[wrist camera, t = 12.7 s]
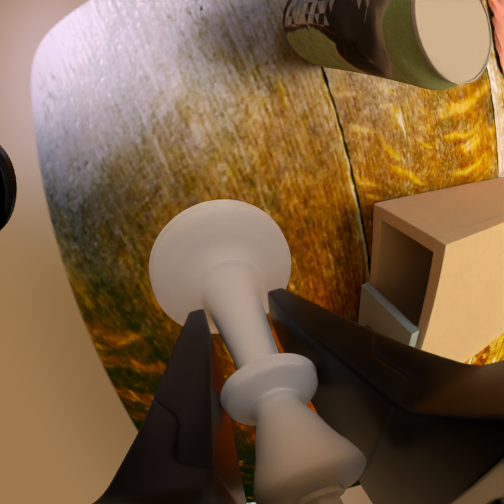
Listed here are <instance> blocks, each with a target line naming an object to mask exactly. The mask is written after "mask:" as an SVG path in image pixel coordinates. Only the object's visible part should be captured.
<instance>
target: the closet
mask: <svg viewBox="0 0 504 504" xmlns="http://www.w3.org/2000/svg"><path fill="white" fill-rule="evenodd" d="M369 283H370V284H371V285H372V286H373V287H374V288H375V289H377V290H378V291H379V292H380V293H381V294H382V295H383V296H384V297H385V298H386V299H387V300H388V301H389V302H390V303H392V304H393V305H394V306H395V307H396V308H397V309H398V310H399V311H400V312H401V313H402V314H403V315H404V316H405V317H406V318H407V319H408V320H409V321H410V322H411V323H412V324H413V325H415V326H416V327H417V328H418V329H419V334H418V337H417V341H416V345H415V348H418V349H420V350H423V351H426V352H430V353H433V354H436V355H439V356H442V357H445V358H448V359H451V360H455V361H458V362H461V363H464V362H466V361H467V360H469V359H470V358H471V357H473V356H474V355H476V354H477V353H478V352H480V351H481V350H482V349H484V348H485V347H486V346H488V345H489V344H490V343H492V342H493V341H494V340H495V339H497V338H498V337H499V336H500V335H502V334H503V333H504V177H500V178H495V179H490V180H485V181H480V182H474V183H469V184H464V185H459V186H454V187H449V188H444V189H440V190H435V191H430V192H425V193H420V194H415V195H411V196H406V197H401V198H396V199H392V200H387V201H382V202H378V203H374V208H373V236H372V254H371V269H370V281H369Z"/></svg>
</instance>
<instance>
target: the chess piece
mask: <svg viewBox="0 0 504 504" xmlns="http://www.w3.org/2000/svg"><path fill="white" fill-rule="evenodd" d="M290 274H291V255H290V250H289V247H288V244H287V241H286V239H285V237H284V236H283V234H282V231H281V230H280V228H279V227H278V225H277V224H276V222H275V221H274V220H273V219H272V218H271V217H270V216H269V215H268V214H267V213H265V212H264V211H262V210H261V209H259V208H257V207H255V206H253V205H251V204H248V203H245V202H242V201H237V200H227V199H223V200H212V201H207V202H203V203H199V204H197V205H194V206H192V207H190V208H188V209H186V210H184V211H182V212H181V213H179V214H178V215H177V216H175V217H174V218H173V219H172V220H171V221H170V222H169V223H168V224H167V225H166V226H165V227H164V228H163V230H162V231H161V232H160V234H159V235H158V237H157V239H156V241H155V243H154V245H153V248H152V251H151V254H150V259H149V276H150V282H151V285H152V289H153V292H154V295H155V298H156V300H157V302H158V304H159V305H160V307H161V308H162V309H163V311H164V312H165V313H166V314H167V315H168V316H169V317H170V318H171V319H172V320H174V321H175V322H177V323H178V324H180V325H182V326H184V324H185V321H186V319H187V317H188V314H189V313H190V312H191V311H195V310H199V309H204V311H205V314H206V317H207V321H208V325H209V328H210V332H211V333H219V334H220V336H221V338H222V340H223V341H224V343H225V345H226V347H227V349H228V351H229V353H230V355H231V357H232V359H233V362H234V364H235V366H236V368H237V371H236V372H235V373H233V374H232V375H231V376H230V377H229V379H228V380H227V381H226V382H225V384H224V386H223V388H222V390H221V393H220V402H221V405H222V407H223V408H224V410H225V411H226V412H227V414H228V415H229V416H230V417H231V418H232V419H233V420H235V421H237V422H239V423H242V424H246V425H256V435H255V449H256V469H255V475H254V498H255V502H256V504H343V502H342V500H341V499H340V496H341V495H342V494H343V493H344V492H345V490H346V489H347V488H349V487H350V486H351V485H352V484H354V483H355V482H356V481H357V480H358V479H359V477H360V476H361V475H362V473H363V471H364V469H365V467H366V463H367V461H366V457H365V455H364V454H363V453H362V452H361V450H360V449H358V448H357V447H356V446H355V445H354V444H353V443H351V442H350V441H349V440H348V439H346V438H345V437H343V436H341V435H340V434H338V433H337V432H336V431H335V430H334V429H332V428H331V427H330V426H329V425H328V424H327V423H326V422H325V421H324V420H323V419H322V418H321V417H320V416H319V415H318V414H317V413H315V412H314V411H313V410H311V409H310V408H309V407H308V406H306V405H307V404H308V403H309V401H310V400H311V399H312V398H313V396H314V394H315V393H316V390H317V387H318V377H317V371H316V367H315V365H314V364H313V363H312V361H310V360H309V359H308V358H306V357H304V356H301V355H298V354H292V353H281V354H279V353H278V350H277V347H276V344H275V341H274V339H273V336H272V332H271V329H270V326H269V323H268V320H267V316H266V314H267V313H269V304H268V292H269V291H271V290H275V289H278V288H283V289H285V290H286V287H287V285H288V282H289V278H290Z"/></svg>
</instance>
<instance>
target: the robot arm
mask: <svg viewBox="0 0 504 504" xmlns="http://www.w3.org/2000/svg"><path fill="white" fill-rule="evenodd" d="M0 218H1V219H2V223H1V222H0V228H2V227H3V226H4V225H6V223H7V217H6V214H5V211H4V208H3V205H2V202H1V195H0ZM268 304H269V312H270V317H271V321H272V323H273V326H274V328H275V331H276V333H277V336H278V338H279V341H280V343H281V346H282V348H283V350H284V353H292V354H298V355H301V356H304V357H306V358H308V359H309V360H310V361H312V363H313V364H314V365H315V367H316V371H317V377H318V387H317V390H316V393H315V394H314V396H313V398H312V399H311V400H310V401H311V403H312V404H313V406H314V408H315V409H316V411H317V413H318V414H319V416H320V417H321V418H322V419H323V420H324V421H325V422H326V423H327V424H328V425H329V426H330V427H331V428H332V429H334V430H335V431H336V432H337V433H338V434H340V435H341V436H343V437H345V438H346V439H348V440H349V441H350V442H351V443H353V444H354V445H355V446H356V447H357V448H358V449H360V450H361V452H362V453H363V454H364V455H365V457H366V461H367V463H366V467H365V469H364V471H363V473H362V475H361V476H360V477H359V479H358V480H359V481H360V484H361V485H362V487H363V489H364V490H365V492H366V493H367V495H368V497H369V499H370V500H371V502H372V503H373V504H504V360H503V361H499V362H495V363H491V364H486V365H470V364H465V363H461V362H458V361H455V360H451V359H448V358H445V357H442V356H439V355H436V354H433V353H430V352H426V351H423V350H420V349H418V348H415V347H412V346H409V345H406V344H404V343H401V342H399V341H397V340H394V339H392V338H389V337H387V336H385V335H383V334H380V333H378V332H376V333H375V331H374V330H371V329H369V328H367V327H365V326H363V325H360V324H358V323H356V322H354V321H352V320H350V319H347V318H345V317H343V316H341V315H339V314H337V313H334V312H332V311H330V310H328V309H326V308H324V307H321V306H319V305H317V304H315V303H313V302H311V301H309V300H306V299H304V298H302V297H300V296H298V295H296V294H294V293H292V292H289V291H287V290H285V289H283V288H278V289H275V290H271V291H269V292H268ZM224 384H225V381H224V377H223V374H222V370H221V367H220V363H219V360H218V356H217V353H216V349H215V346H214V342H213V339H212V335H211V332H210V328H209V325H208V321H207V317H206V314H205V311H204V309H199V310H195V311H191V312H190V313H189V314H188V317H187V319H186V321H185V324H184V326H183V328H182V331H181V333H180V335H179V338H178V340H177V342H176V345H175V347H174V350H173V352H172V354H171V357H170V359H169V362H168V364H167V366H166V369H165V371H164V374H163V376H162V378H161V381H160V383H159V386H158V388H157V391H156V393H155V396H154V400H153V401H152V403H151V405H150V408H149V410H148V413H147V415H146V417H145V420H144V422H143V424H142V426H141V428H140V430H139V432H138V434H137V436H136V438H135V440H134V442H133V444H132V446H131V447H130V449H129V451H128V453H127V455H126V456H125V458H124V460H123V462H122V464H121V466H120V467H119V469H118V471H117V473H116V475H115V477H114V478H113V480H112V482H111V483H110V485H109V487H108V488H107V490H106V491H105V492H104V494H103V495H102V496H101V497H100V498H99V499H98V500H97V501H95V502H94V503H93V504H246V499H245V494H244V489H243V484H242V479H241V473H240V468H239V463H238V457H237V452H236V446H235V440H234V435H233V429H232V423H231V417H230V416H229V415H228V414H227V412H226V411H225V410H224V408H223V407H222V405H221V402H220V393H221V390H222V388H223V386H224Z"/></svg>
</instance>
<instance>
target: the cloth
mask: <svg viewBox="0 0 504 504" xmlns="http://www.w3.org/2000/svg"><path fill="white" fill-rule="evenodd" d="M488 5H489V8H490V11H491V20H492V24H493V27H494V29H493V34H494V44H495V47H496V50H497V52H498V54H499V59H500V66H501V69H502V73H503V74H504V0H497V1H496V0H488Z"/></svg>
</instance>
